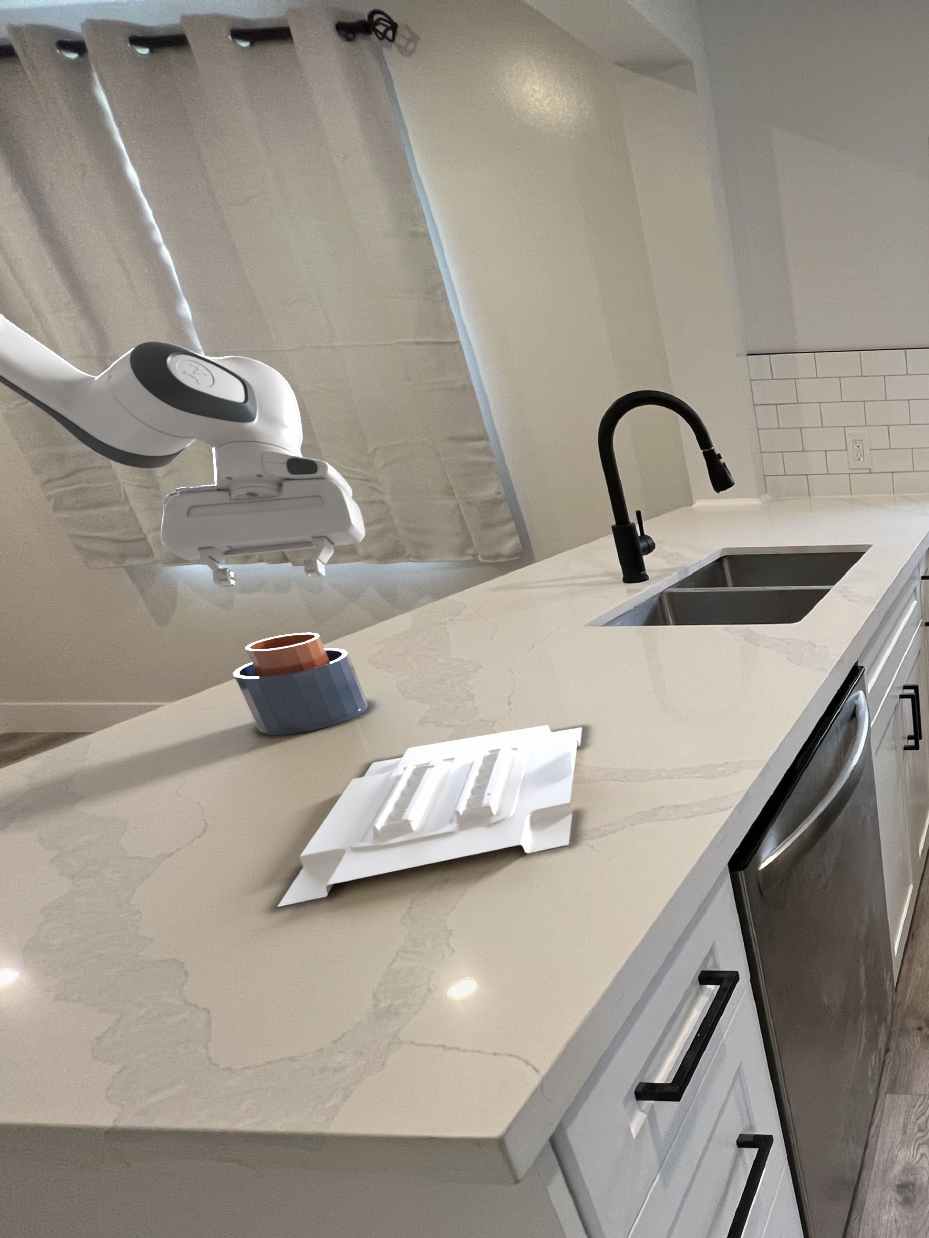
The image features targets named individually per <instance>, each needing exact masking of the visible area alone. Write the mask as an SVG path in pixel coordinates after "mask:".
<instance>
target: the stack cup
mask: <svg viewBox="0 0 929 1238" xmlns="http://www.w3.org/2000/svg"><path fill="white" fill-rule="evenodd" d="M324 649H325V651H326V654H327V656H328V659H329V661H330V663H327V664H325V665H322V666H318V667H315V668H311V669H308V670H303V671H299V672H294V673H288V674H282V675H276V676H265V677H258V675H257V673H256V670H255V668H254V666H253V664H252V662H250V663H247V664H244V665H243V666H241V667H239V668H237V669H235V670H234V672H232V675H233V678H234V680H235V682H236V683H237V686H238V689H239V691H240V693H241V695H242V698H243V700H244V702H245V704H246V706H247V708H248V710H249V713H250V715H251V716H252V719H253V721H254V723H255V725H256V727H257V729H258V731H259V732H260V733H262V734H265V735H273V736H281V735H282V736H285V735H293V734H294V735H296V734H302V733H308V732H313V731H317V730H322V729H325V728H329V727H332V726H336V725H339V724H341V723H344V722H345V723H346V722H347V721H350V720H352V719H354V718H356V717H358V716H360V715H361V714H363V713H364V712H366V710H367V709H368V707H369V705H368V703H367V701H368V700H367V698H366V696H365V693H364V690H363V687H362V686H361V683H360V680H359V678H358V675H357V672H356V669H355V667H354V665H353V662H352V660H351V657H350V655H349V652H347V651H346V650H345V649H341V648H340V649H339V648H324Z"/></svg>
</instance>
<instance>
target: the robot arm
mask: <svg viewBox="0 0 929 1238" xmlns="http://www.w3.org/2000/svg"><path fill="white" fill-rule="evenodd" d="M0 383H1V384H3V385H4V386H5V387H7V388H9V389H10V390H12V391H13V392H14V393H16V394H18V395H19V396H21V397H23V398H24V399H26V401H28V402H30V403H31V404H33V405H35V406H36V407H38V408H39V409H40V410H42V411H43V412H45V413H46V414H48V416H50V417H51V418H52V419H54V420H55V421H56V422H57V423H59V424H60V425H61V426H62V427H63V428H64V429H66V430H67V432H69V433H70V434H71V435H73V436H74V438H76V439H77V440H78V441H79V442H80V443H82V444H83V445H84V446H86V447H87V448H89V450H92V451H93V452H95V453H96V454H97V455H99V456H102V457H104V458H105V459H108V460H109V461H113V462H115V463H118V464H120V465H124V466H128V467H132V468H137V469H157V468H162V467H165V466H166V467H167V466H168V465H169V464H171V463H173V462H174V461H175V460H176V459H177V458H178V457H179V456H180V455H181V454H182V453H183V452H184V451H185V450H186V449H187V448H188V447H189V446H190V445H191V444H193V443H194V442H195V441H197V440H198V441H201V442H204V443H206V444H207V445H208V446H210V447H211V450H212V455H213V469H214V470H213V471H214V482H215V484H210V485H209V484H208V485H200V486H195V487H194V486H193V487H190V486H184V487H177V488H175V491H173V492H170V493H169V494H167V495H166V496H164V497H163V499H162V512H163V514H162V519H161V526H160V527H161V529H160V542H161V544H162V545H163V546H164V548H165V549H167V550H168V551H169V552H171V554H173V555H176V556H178V557H179V558H181V559H183V560H185V561H196V560H202V561H203V562H204V563H205V565H207V567H208V568H210V570H212V580H213V582H214V584H215V585H217V586H218V587H221V588H227V587H236V586H237V585H238V582H237V581H236V580H237V574H236V573H235V572H234V571H231V569H229V568H227V567H223V566H222V564H225V563H226V560H225V558H226V557H236V556H237V557H238V556H247V555H256V554H265V553H276V552H285V551H286V552H287V551H295V550H296V551H297V550H305V549H315V550H314V551H313V554H312V555H311V557H310V558H309V559H308V558H307V559H303V561H302V562H303V566H304V567H303V570H304V573H305V574H306V575H307V576H309V578H319V577H325V576H326V568H325V567H326V565H327V563H328V562H329V560H330V559H331V557H332V556H333V555H334V552H335V549H334V547H336V546H346V545H356V544H359V543H361V542H362V541H363V539H364V538H365V536H366V528H365V523H364V519H363V514H362V512H361V509H360V507H359V505H358V503H357V502H356V501H355V500H354V498H353V489H352V487H351V486H350V484H349V483H348V482H347V480H346V479H345V477H344V476H342V475H341V473H340V472H339V471H337V470H336V469H335V468H334V467H333V466H331V465H330V464H329V463H328V462H327V461H324V460H321V459H314V458H309V457H303V455H302V454H301V453H302V452H301V446H302V444H303V429H302V421H301V413H300V410H299V405H298V402H297V398H296V396H295V393H294V391H293V390H292V388H291V386H290V384H289V383H288V381H287V380H286V379H285V378H284V376H283V375H282V374H281V373H279V371H277V370H276V369H275V368H273V367H271V366H270V365H268V364H266V363H263V362H262V361H259V360H256V359H254V358H250V357H245V356H239V355H229V356H223V357H211V356H206V355H201V354H200V353H198V352H195V351H193V350H191V349H188V348H186V347H183V346H180V345H178V344H174V343H171V342H164V341H146V342H142V343H140V344H138V345H136V346H135V347H134V348H132V349H131V350H129V351H128V352H126V353H125V354H124V355H122V356H121V357H119V359H117V360H116V361H114V362H113V363H112V364H111V365H110V367H109V368H107V369H106V370H105V371H103V372H102V373H101V374H100V375H98V376H96V375H95V376H94V375H91V374H87V373H85V372H83V371H81V370H79V369H77V368H76V367H74V366H73V365H71V364H70V363H68V361H66V360H64V359H63V358H61V357H60V356H59V355H58V354H56V353H55V352H53V351H52V350H50V349H49V348H47V347H46V346H45V345H43V344H42V343H40V342H39V341H38V340H36V339H35V338H33V337H32V336H31V335H29V334H28V333H26V332H25V331H23V329H20V328H19V327H18V326H17V325H15V324H14V323H12V322H11V321H10V320H8V319H7V318H5V317H4V315H2V314H0Z"/></svg>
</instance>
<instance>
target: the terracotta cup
mask: <svg viewBox="0 0 929 1238" xmlns="http://www.w3.org/2000/svg"><path fill="white" fill-rule="evenodd" d="M325 649H326V648H325V646H324V644H323V642H322V639H321V637H320V635H319V633H312V632H306V633H305V632H302V633H299V632H298V633H292V634H291V633H290V634H284V635H278V636H274V637H269V638H265V639H261V640H258V641H255V642H252V643H250V644H248V645H247V646H245V650H246V653H247V655H248V657H249V660H250V662H251V663H252V664H253V666H254V668H255V670H256V673H257V675H258V677H265V676H276V675H282V674H288V673H294V672H299V671H303V670H308V669H311V668H315V667H318V666H322V665H325V664H327V663H330V661H329V659H328V656H327V654H326V651H325Z"/></svg>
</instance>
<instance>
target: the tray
mask: <svg viewBox="0 0 929 1238" xmlns="http://www.w3.org/2000/svg"><path fill="white" fill-rule="evenodd" d="M582 733H583V727H581V726H580V727H574V728H568V729H563V730H557V731H551V730H550V727H549V725H547V724H543V725H538V726H533V727H532V726H531V727H526V728H521V729H520V728H519V729H514V730H508V731H502V732H495V733H491V734H484V735H478V736H472V737H466V738H462V739H461V738H460V739H455V740H454V739H453V740H448V741H442V742H436V743H430V744H424V745H418V746H417V745H416V746H412V747H407V749H406V750H405V752H404V754H403V755H402V756H401V757H397V758H392V759H384V760H381V761H374V762H372V763H371V764H370V766H369V768H368V769H367V771H366V772H365V774H363V776H362V777H355V778H352V779H351V780H350V782H349V783H348V785H347V786H346V788H345V789H344V790H343V792H342V794H341V795H340V797H339V798H338V800H337V802H336V803H335V804H334V805H333V807H332V809H331V810H330V811H329V813H328V814H327V815H326V817H325V818H324V820H323V822H322V823H321V824H320V826H319V827H318V829H317V830H316V832H315V833H314V834H313V836H312V837H311V839H310V840H309V842H308V843H307V845H306V847H305V848H304V849H303V851H301V853H300V855H299V861H300V862H301V865H302V868H301V870H300V871H299V874H298V875H297V876H296V877H295V879H294V880H293V882H292V883H291V885H290V887H289V888H288V890H287V891H286V893H285V894H284V896H283V897H282V899H281V900H280V902H279V904H278V905H277V907H278V908H279V907H283V906H289V905H293V904H298V903H304V902H306V901H311V900H317V899H321V898H326V897H327V896H328V894H329V893H330V891H331V889H332V887H333V886H334V885H335V884H339V883H344V882H349V881H353V880H358V879H363V878H367V877H368V878H369V877H373V876H377V875H383V874H386V873H391V872H396V871H402V870H405V869H409V868H415V867H420V866H424V865H428V864H435V863H439V862H443V861H448V860H453V859H458V858H463V857H467V856H474V855H478V854H482V853H487V852H488V853H489V852H493V851H498V850H502V849H506V848H509V847H515V846H522V849H523V850H524V853H526V854H532V853H536V852H541V851H545V850H549V849H554V848H555V849H556V848H560V847H564V846H569V844H570V836H571V830H572V823H573V821H572V820H573V810H572V806H571V799H572V798H571V797H572V788H573V782H574V781H573V780H574V774H575V766H576V765H575V764H576V757H577V749H578V747H581V741H582Z"/></svg>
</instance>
